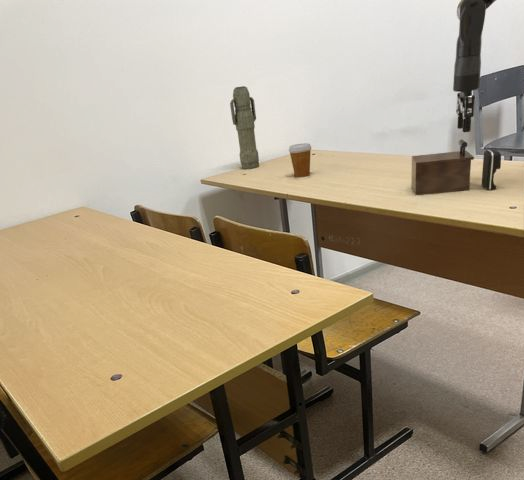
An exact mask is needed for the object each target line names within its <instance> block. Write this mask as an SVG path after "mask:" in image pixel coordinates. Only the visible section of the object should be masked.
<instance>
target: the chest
mask: <svg viewBox="0 0 524 480" xmlns="http://www.w3.org/2000/svg"><path fill="white" fill-rule="evenodd" d="M471 166H472V160H464V161H454V162H444V163H434V164H424V165H415V163H414V161H413V160H412V159H411V185H410V186H411V189H412V191H413V194H414V195H415V196H420V195H421V196H422V195H429V194H430V195H431V194H444V193H452V192H453V193H454V192H464V191H470V183H471V181H470V180H471V169H472V168H471Z"/></svg>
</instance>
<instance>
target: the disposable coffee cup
mask: <svg viewBox="0 0 524 480" xmlns="http://www.w3.org/2000/svg"><path fill="white" fill-rule="evenodd" d="M311 150H312V146H311V143H309V142H308V143H296V144H292V145H289V146H288V153H289V155H290V159H291V160H290V161H291V164H292V170H293V174H294V177H295V178H302V177H308V176H310V174H311V152H312V151H311Z"/></svg>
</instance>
